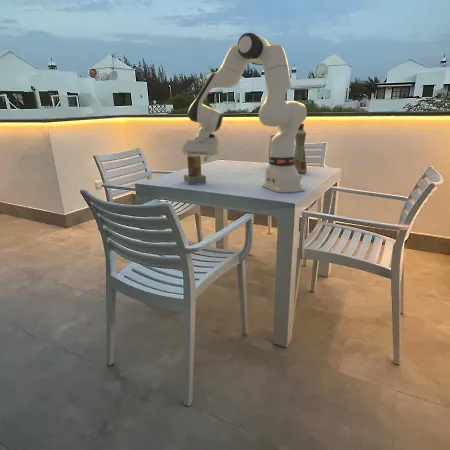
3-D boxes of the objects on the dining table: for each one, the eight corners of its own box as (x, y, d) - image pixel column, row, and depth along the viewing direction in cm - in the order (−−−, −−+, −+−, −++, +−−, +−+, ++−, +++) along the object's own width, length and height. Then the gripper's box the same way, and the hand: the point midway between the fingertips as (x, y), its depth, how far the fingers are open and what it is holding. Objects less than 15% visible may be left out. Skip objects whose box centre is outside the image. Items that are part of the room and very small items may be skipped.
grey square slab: (205, 183, 172) (205, 176, 171) (189, 185, 169) (189, 177, 167) (200, 180, 180) (199, 173, 179) (184, 182, 177) (183, 174, 175)
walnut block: (201, 174, 174) (200, 155, 171) (197, 176, 170) (196, 156, 167) (192, 174, 176) (191, 155, 173) (188, 176, 172) (187, 156, 168)
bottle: (290, 171, 198) (292, 122, 189) (306, 171, 197) (309, 122, 187) (290, 173, 190) (293, 123, 181) (306, 174, 189) (310, 123, 179)
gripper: (184, 135, 180) (177, 155, 175) (219, 135, 174) (213, 157, 168) (187, 142, 185) (181, 163, 180) (222, 143, 179) (216, 164, 174)
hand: (197, 160), depth 174 cm, fingers open, 8 cm apart
